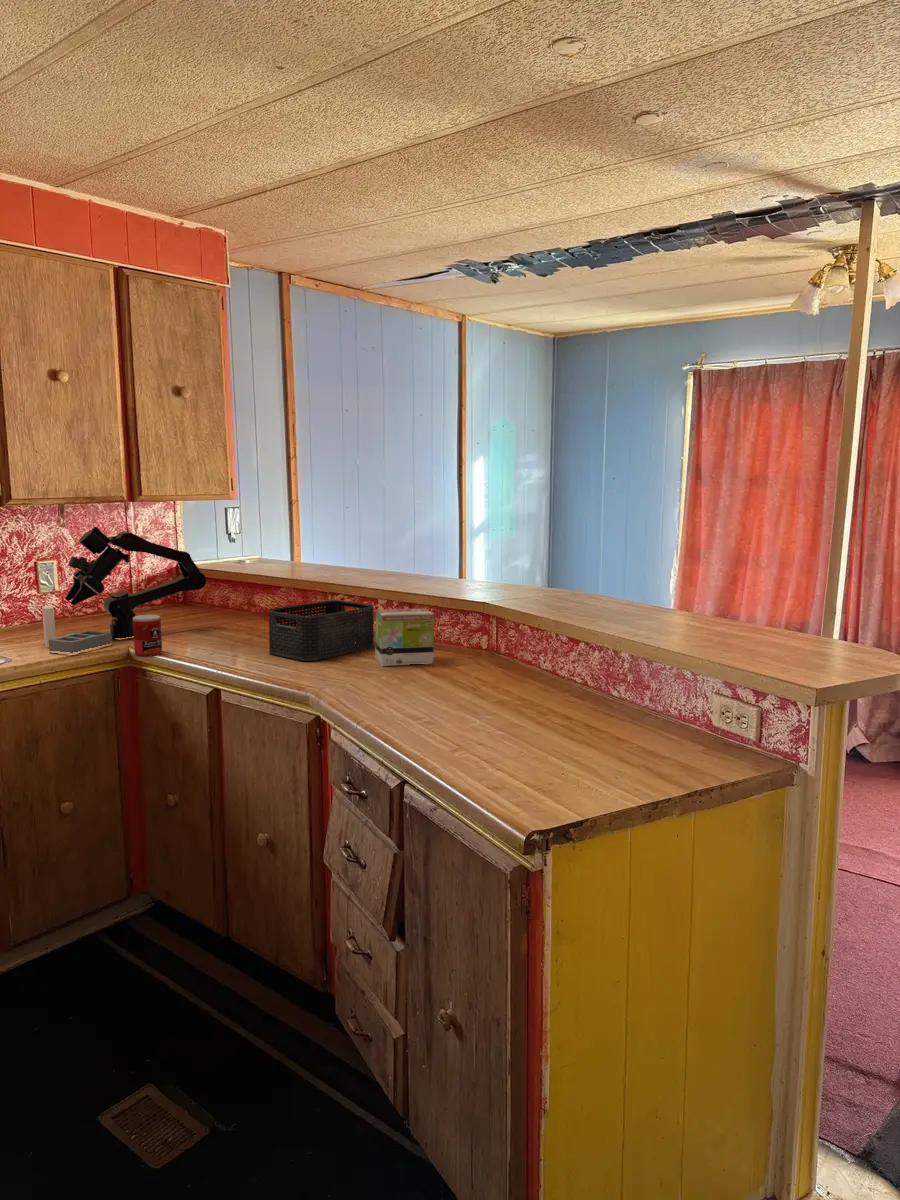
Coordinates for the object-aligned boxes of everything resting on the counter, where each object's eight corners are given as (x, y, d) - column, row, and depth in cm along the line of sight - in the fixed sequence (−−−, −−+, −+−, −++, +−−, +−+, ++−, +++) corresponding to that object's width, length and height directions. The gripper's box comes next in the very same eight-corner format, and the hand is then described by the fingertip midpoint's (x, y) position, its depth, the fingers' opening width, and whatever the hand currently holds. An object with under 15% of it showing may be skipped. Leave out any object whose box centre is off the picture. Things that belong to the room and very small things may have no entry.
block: (53, 644, 256) (50, 605, 254) (56, 647, 252) (53, 608, 250) (44, 645, 255) (41, 606, 253) (47, 648, 251) (44, 608, 249)
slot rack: (89, 643, 258) (88, 629, 257) (111, 645, 255) (111, 632, 254) (49, 653, 244) (48, 639, 243) (72, 655, 241) (71, 641, 240)
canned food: (144, 658, 239) (142, 620, 237) (128, 654, 244) (126, 617, 242) (167, 653, 245) (166, 616, 243) (152, 649, 250) (150, 613, 248)
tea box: (381, 667, 229) (381, 615, 227) (375, 659, 239) (374, 608, 237) (434, 664, 233) (434, 612, 231) (425, 656, 243) (426, 606, 241)
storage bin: (334, 639, 267) (334, 598, 265) (378, 647, 256) (378, 604, 253) (264, 654, 245) (263, 609, 243) (309, 664, 233) (308, 617, 231)
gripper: (78, 544, 263) (42, 581, 258) (90, 549, 247) (52, 588, 243) (106, 567, 268) (71, 604, 264) (119, 573, 253) (82, 612, 248)
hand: (69, 602), depth 255 cm, fingers open, 9 cm apart
